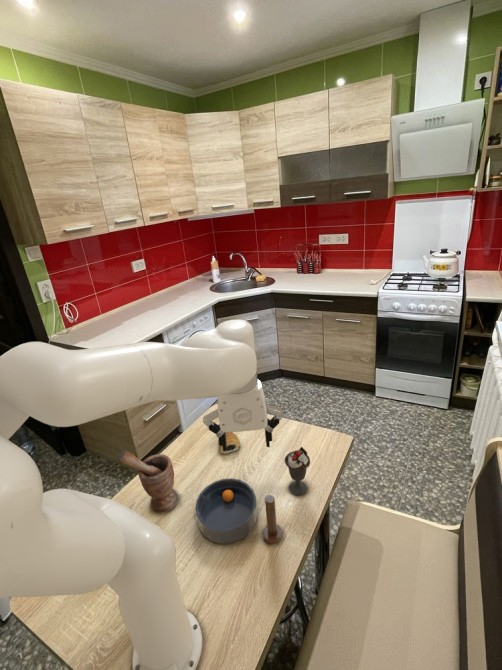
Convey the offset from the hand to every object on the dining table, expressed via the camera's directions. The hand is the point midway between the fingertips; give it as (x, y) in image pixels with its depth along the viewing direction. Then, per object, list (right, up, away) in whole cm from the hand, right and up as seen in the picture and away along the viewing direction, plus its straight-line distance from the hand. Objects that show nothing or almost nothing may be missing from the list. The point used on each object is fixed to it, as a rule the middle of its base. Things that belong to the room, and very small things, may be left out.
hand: (246, 444), depth 77 cm
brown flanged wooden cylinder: (+6, -23, +5) cm, 25 cm away
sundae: (+14, -18, +17) cm, 28 cm away
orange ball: (-5, -18, +14) cm, 24 cm away
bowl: (-5, -22, +11) cm, 25 cm away
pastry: (-6, -11, +35) cm, 37 cm away
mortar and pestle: (-24, -22, +16) cm, 36 cm away
